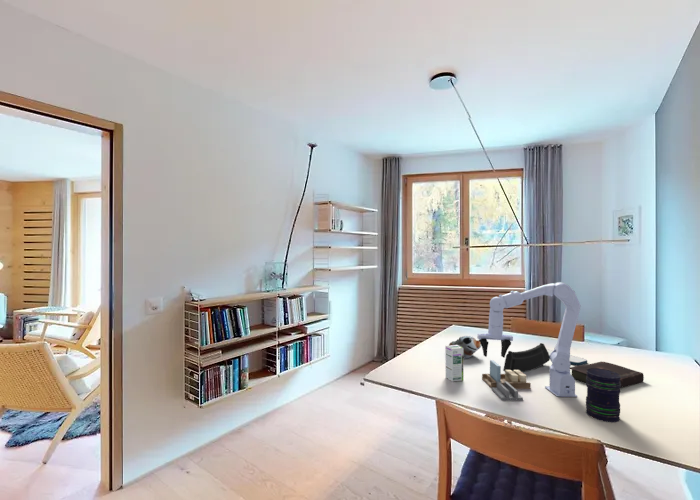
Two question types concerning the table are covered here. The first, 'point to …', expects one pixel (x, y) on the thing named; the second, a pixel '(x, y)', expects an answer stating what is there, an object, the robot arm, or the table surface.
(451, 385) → the table surface
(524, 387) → the rack
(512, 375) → the offcut
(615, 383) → the storage jar
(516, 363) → the magazine
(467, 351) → the lucky cat figurine
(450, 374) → the syrup box
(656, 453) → the table surface
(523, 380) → the offcut
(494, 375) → the tall board
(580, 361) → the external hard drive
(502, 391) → the holder
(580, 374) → the diary
